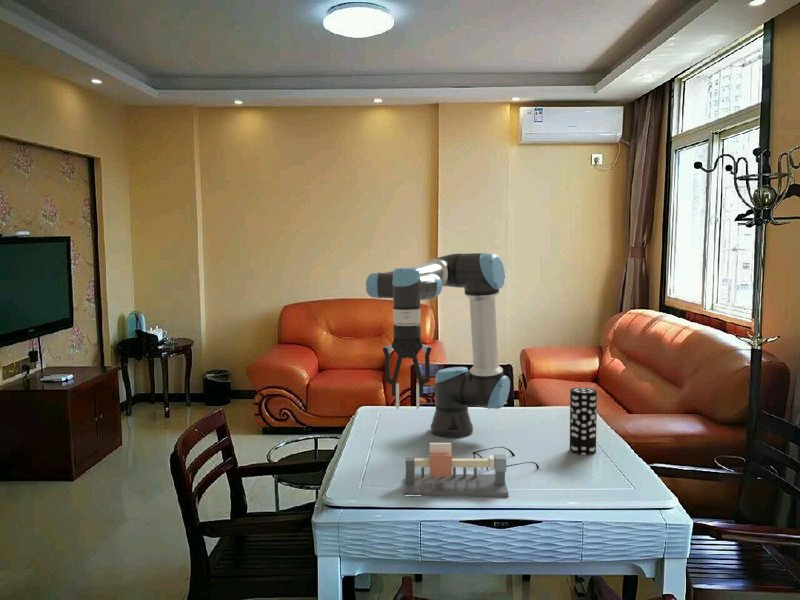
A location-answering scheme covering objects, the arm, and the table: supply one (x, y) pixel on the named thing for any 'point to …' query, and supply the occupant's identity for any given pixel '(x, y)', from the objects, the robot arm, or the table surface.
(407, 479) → the cable comb board
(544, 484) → the table surface
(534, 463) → the eyeglasses
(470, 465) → the cream long bar
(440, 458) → the banded orange cube
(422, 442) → the table surface
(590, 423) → the white-spotted black cylinder
